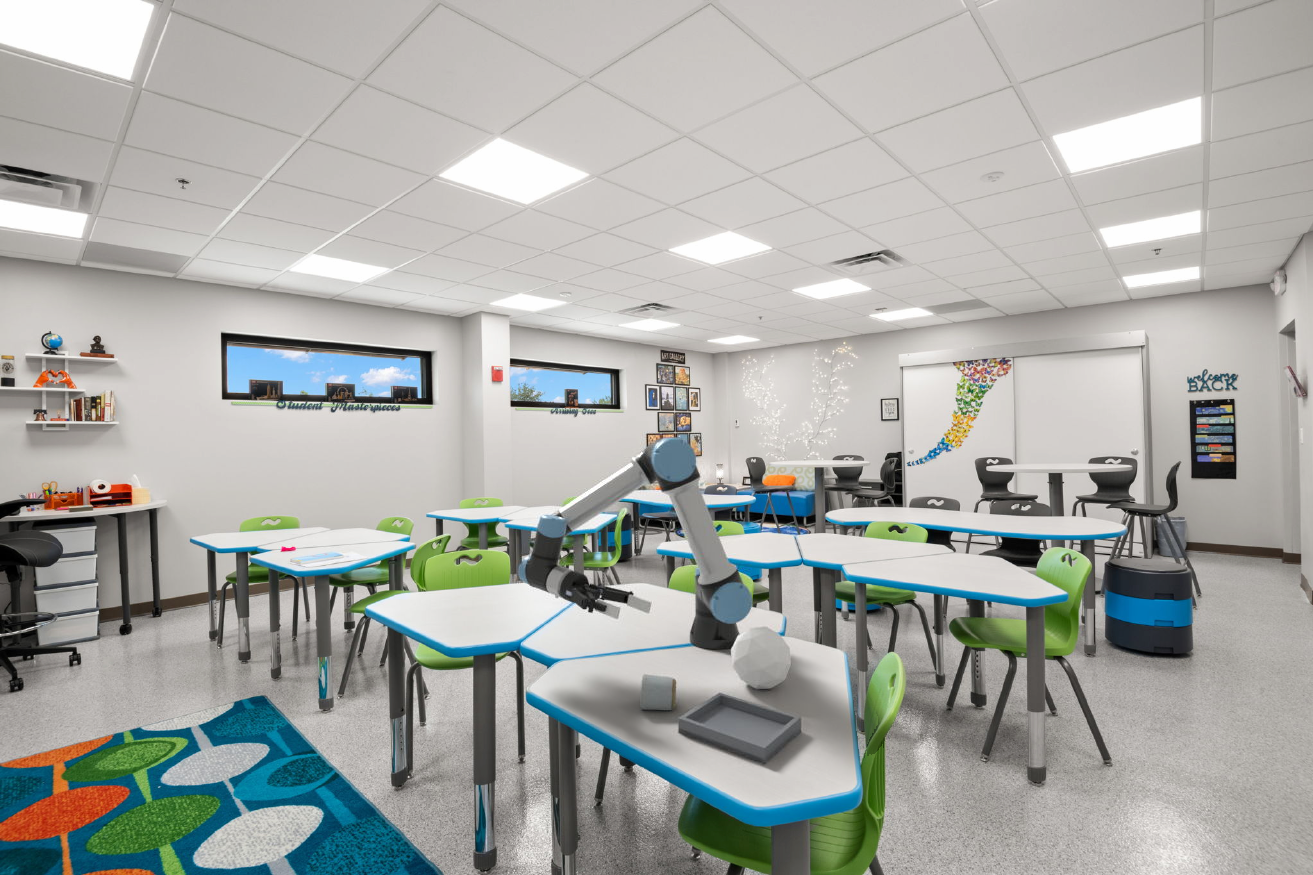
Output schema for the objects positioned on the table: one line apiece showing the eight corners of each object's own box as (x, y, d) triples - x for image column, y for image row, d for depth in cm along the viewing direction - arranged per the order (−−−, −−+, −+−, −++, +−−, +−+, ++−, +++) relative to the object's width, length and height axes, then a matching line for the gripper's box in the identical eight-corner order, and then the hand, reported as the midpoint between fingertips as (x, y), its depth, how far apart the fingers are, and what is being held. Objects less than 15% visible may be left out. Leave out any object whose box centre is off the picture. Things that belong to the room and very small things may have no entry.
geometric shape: (760, 713, 145) (741, 675, 138) (732, 670, 158) (713, 634, 151) (809, 680, 147) (792, 642, 140) (777, 641, 160) (760, 603, 153)
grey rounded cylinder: (675, 715, 133) (675, 682, 133) (639, 714, 133) (639, 681, 134) (676, 697, 143) (676, 665, 143) (643, 696, 144) (643, 665, 144)
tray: (719, 705, 138) (719, 692, 138) (801, 731, 125) (801, 717, 125) (678, 732, 125) (678, 717, 125) (764, 764, 113) (764, 748, 113)
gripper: (594, 595, 166) (658, 620, 155) (531, 602, 145) (600, 632, 134) (600, 568, 167) (664, 591, 155) (538, 572, 146) (607, 598, 134)
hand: (634, 610), depth 144 cm, fingers open, 13 cm apart
